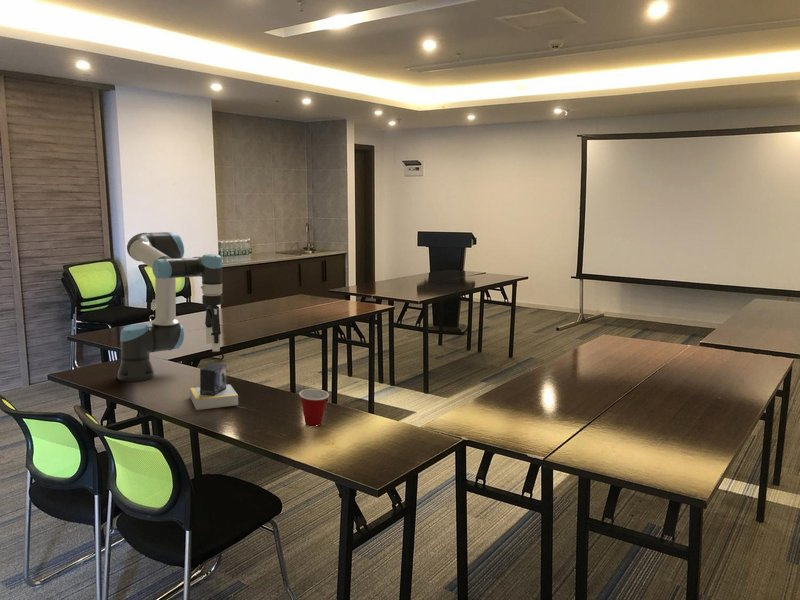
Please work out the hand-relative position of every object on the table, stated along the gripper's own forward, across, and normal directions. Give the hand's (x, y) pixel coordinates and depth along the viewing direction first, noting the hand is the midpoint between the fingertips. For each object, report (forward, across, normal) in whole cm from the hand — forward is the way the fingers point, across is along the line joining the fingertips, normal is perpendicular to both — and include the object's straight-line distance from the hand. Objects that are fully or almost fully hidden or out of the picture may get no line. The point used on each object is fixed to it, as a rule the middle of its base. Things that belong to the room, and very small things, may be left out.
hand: (213, 347), depth 249 cm
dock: (+22, 0, 0) cm, 22 cm away
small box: (+18, 0, 0) cm, 19 cm away
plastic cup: (+22, +39, +29) cm, 54 cm away
